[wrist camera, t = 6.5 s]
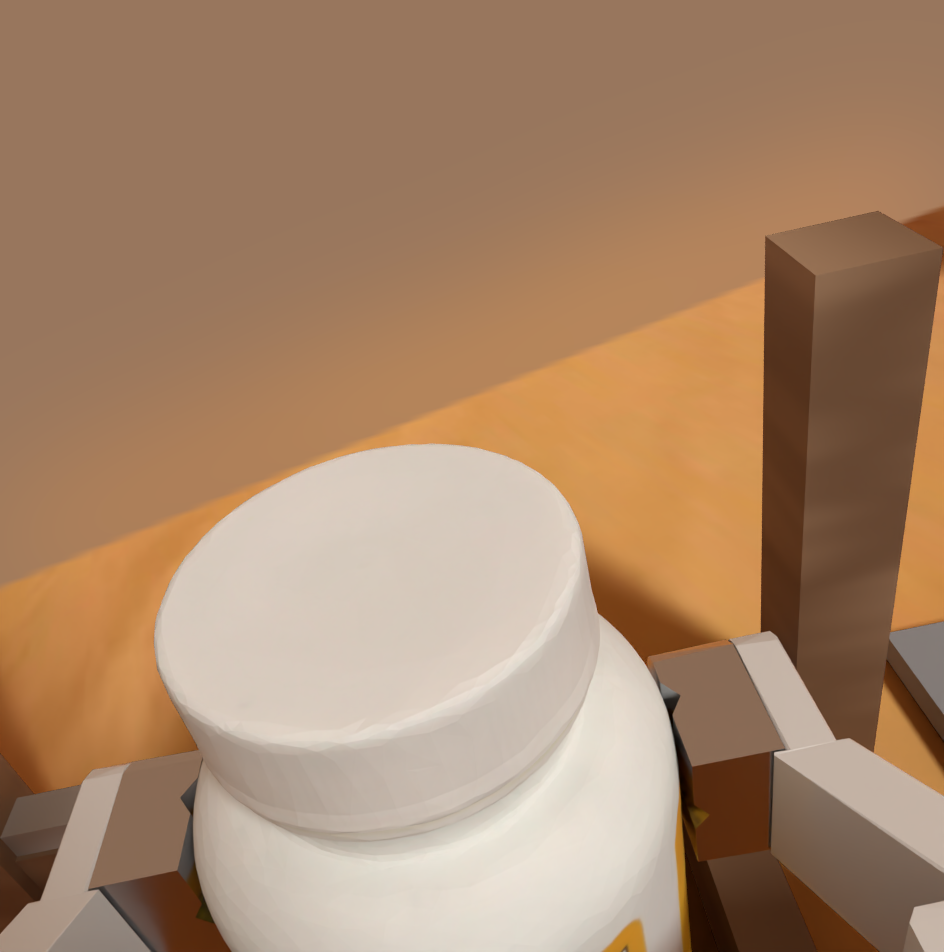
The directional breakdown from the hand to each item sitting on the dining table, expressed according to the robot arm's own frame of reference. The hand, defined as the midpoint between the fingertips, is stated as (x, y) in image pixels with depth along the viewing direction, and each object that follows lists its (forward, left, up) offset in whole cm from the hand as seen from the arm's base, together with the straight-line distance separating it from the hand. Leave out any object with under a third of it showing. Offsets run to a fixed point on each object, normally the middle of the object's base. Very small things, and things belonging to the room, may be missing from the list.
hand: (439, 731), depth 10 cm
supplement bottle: (0, -1, -6) cm, 6 cm away
